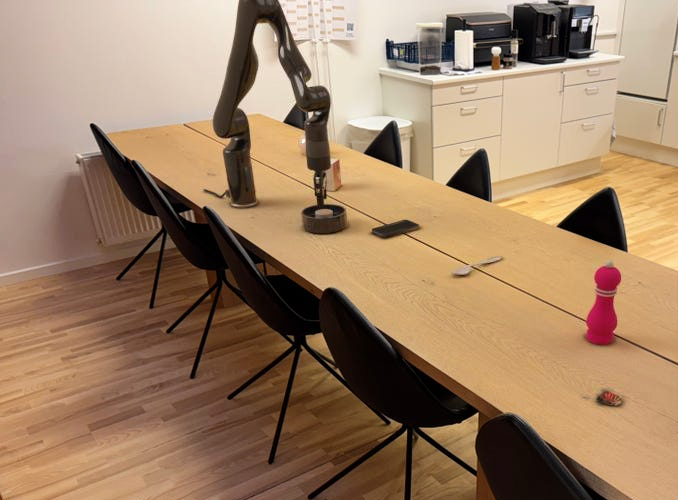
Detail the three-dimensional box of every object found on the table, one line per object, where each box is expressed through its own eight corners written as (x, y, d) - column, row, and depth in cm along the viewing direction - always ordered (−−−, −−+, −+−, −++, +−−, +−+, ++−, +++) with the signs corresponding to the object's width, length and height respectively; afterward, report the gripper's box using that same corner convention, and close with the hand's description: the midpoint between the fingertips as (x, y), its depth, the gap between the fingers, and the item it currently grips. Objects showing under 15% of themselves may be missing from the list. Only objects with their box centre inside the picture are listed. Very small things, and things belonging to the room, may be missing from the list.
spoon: (447, 275, 194) (447, 270, 193) (495, 256, 207) (495, 250, 206) (458, 279, 192) (458, 274, 191) (505, 259, 204) (505, 254, 203)
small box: (334, 191, 262) (332, 164, 257) (321, 190, 263) (318, 163, 258) (341, 185, 269) (339, 158, 264) (328, 184, 270) (326, 157, 264)
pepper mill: (580, 331, 165) (589, 254, 155) (609, 330, 166) (620, 254, 156) (588, 346, 159) (598, 267, 149) (618, 345, 160) (630, 266, 150)
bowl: (294, 226, 229) (292, 210, 226) (330, 216, 237) (329, 201, 234) (319, 238, 219) (317, 221, 217) (356, 227, 228) (355, 211, 225)
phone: (370, 229, 223) (405, 219, 231) (370, 232, 223) (406, 222, 232) (384, 235, 218) (420, 225, 226) (384, 239, 218) (420, 228, 227)
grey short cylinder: (313, 225, 228) (311, 211, 226) (327, 221, 232) (326, 207, 229) (322, 229, 224) (321, 215, 222) (337, 225, 228) (336, 211, 226)
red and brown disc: (595, 402, 139) (595, 400, 139) (602, 389, 143) (602, 387, 143) (617, 408, 138) (618, 406, 137) (624, 395, 141) (624, 393, 141)
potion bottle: (308, 154, 315) (321, 165, 305) (291, 144, 308) (304, 155, 298) (318, 137, 313) (332, 147, 303) (301, 126, 306) (315, 137, 296)
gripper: (308, 147, 222) (313, 196, 230) (303, 159, 209) (308, 210, 218) (332, 147, 222) (335, 196, 230) (327, 159, 210) (331, 210, 218)
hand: (322, 203), depth 224 cm, fingers open, 8 cm apart
